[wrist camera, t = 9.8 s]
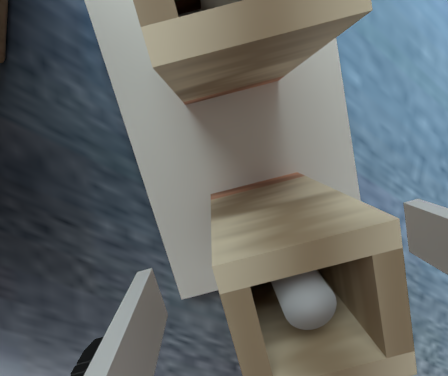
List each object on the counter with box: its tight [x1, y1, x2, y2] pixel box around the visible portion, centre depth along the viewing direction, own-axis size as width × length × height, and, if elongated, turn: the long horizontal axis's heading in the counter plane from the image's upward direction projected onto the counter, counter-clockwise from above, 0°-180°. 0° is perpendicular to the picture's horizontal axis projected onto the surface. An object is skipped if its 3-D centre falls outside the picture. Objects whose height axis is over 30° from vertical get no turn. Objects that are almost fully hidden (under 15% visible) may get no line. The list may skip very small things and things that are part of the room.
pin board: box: [85, 0, 361, 330], centre depth 14 cm, size 14×20×11 cm
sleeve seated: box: [133, 0, 372, 105], centre depth 11 cm, size 6×6×10 cm
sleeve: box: [211, 172, 417, 376], centre depth 14 cm, size 6×6×10 cm
